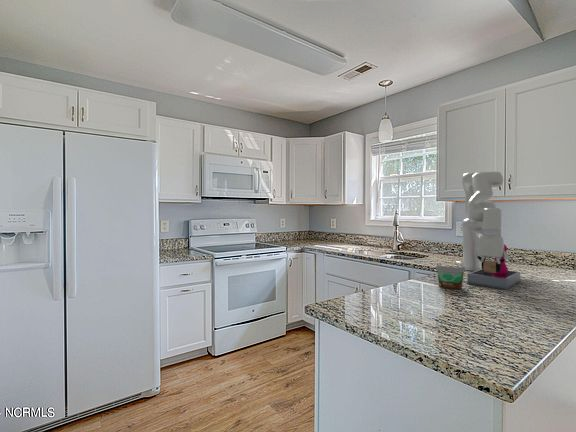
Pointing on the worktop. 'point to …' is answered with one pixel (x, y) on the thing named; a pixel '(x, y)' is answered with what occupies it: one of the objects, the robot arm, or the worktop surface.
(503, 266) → the pepper mill
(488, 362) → the worktop surface
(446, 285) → the food container
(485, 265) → the wooden block
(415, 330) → the worktop surface
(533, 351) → the worktop surface
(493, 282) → the tray
